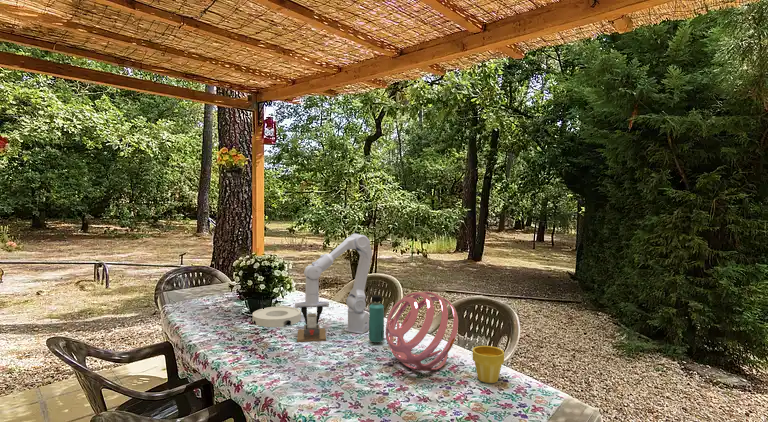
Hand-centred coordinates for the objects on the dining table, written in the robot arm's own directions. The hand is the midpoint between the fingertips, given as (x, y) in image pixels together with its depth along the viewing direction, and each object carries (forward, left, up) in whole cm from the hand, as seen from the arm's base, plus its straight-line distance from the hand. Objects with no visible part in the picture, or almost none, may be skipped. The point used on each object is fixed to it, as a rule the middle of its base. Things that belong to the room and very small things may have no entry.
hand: (311, 323), depth 182 cm
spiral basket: (-53, +9, -6) cm, 54 cm away
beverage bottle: (-29, -5, -6) cm, 30 cm away
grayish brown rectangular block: (0, 0, -4) cm, 4 cm away
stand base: (0, 0, -5) cm, 5 cm away
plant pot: (-78, +9, -6) cm, 79 cm away
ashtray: (+29, -12, -6) cm, 32 cm away
